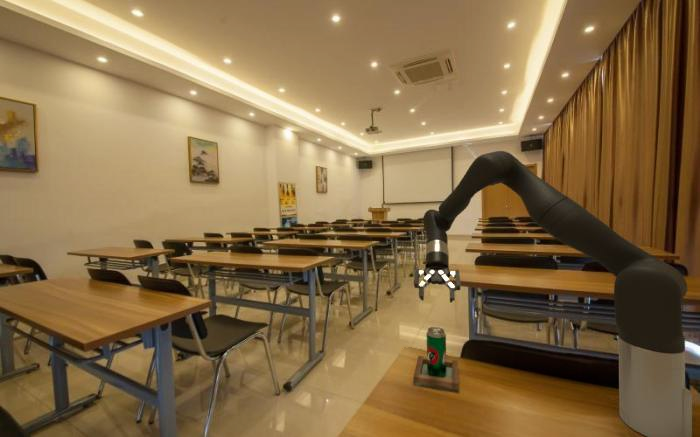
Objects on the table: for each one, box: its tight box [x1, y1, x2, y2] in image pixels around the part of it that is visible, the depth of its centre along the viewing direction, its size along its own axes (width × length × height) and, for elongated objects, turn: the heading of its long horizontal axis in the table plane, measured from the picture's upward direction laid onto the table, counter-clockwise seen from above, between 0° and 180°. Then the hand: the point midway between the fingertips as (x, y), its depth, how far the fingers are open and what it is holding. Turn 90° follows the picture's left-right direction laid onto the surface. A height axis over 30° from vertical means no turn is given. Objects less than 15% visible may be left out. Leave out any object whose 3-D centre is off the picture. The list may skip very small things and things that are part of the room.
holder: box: [413, 355, 460, 394], centre depth 78 cm, size 11×11×2 cm
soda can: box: [425, 326, 447, 377], centre depth 78 cm, size 5×5×12 cm
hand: (436, 300), depth 88 cm, fingers open, 8 cm apart
